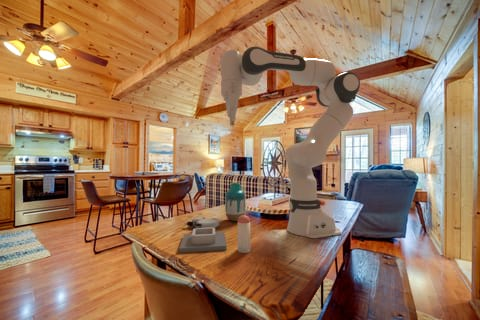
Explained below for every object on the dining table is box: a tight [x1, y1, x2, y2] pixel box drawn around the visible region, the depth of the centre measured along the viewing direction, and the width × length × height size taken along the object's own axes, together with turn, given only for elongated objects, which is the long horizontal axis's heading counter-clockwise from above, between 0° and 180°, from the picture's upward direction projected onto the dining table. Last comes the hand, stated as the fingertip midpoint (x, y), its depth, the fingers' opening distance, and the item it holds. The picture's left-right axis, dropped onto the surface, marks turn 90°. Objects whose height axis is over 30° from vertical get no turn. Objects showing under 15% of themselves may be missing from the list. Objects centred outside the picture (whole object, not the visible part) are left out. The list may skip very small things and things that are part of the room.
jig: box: [178, 227, 227, 254], centre depth 79 cm, size 16×14×4 cm
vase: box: [224, 182, 247, 222], centre depth 108 cm, size 11×11×19 cm
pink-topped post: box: [237, 214, 251, 254], centre depth 73 cm, size 4×4×12 cm
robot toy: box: [183, 216, 224, 229], centre depth 96 cm, size 12×4×15 cm
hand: (232, 123), depth 88 cm, fingers open, 8 cm apart
